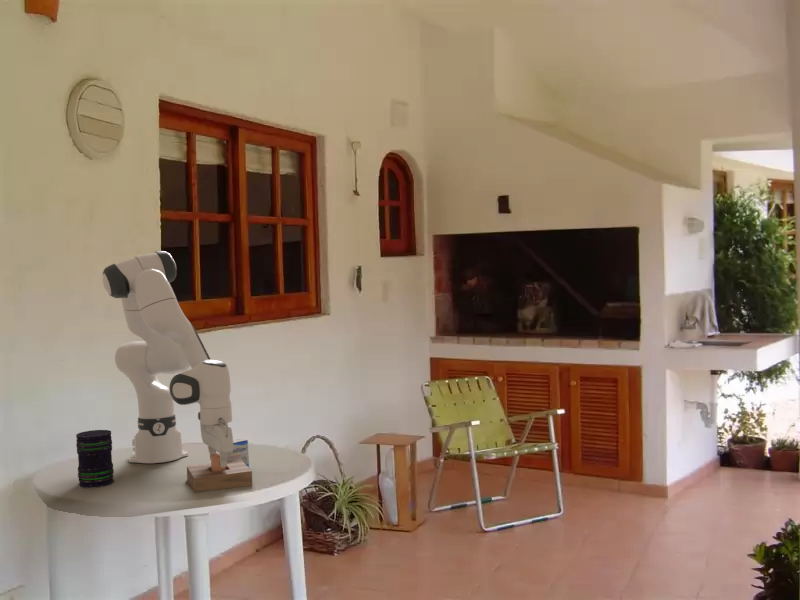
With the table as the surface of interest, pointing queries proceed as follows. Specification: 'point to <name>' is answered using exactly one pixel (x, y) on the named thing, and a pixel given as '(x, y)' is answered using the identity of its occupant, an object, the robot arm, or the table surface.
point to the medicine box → (239, 451)
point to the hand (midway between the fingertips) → (218, 463)
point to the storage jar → (94, 458)
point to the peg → (216, 463)
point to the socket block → (219, 476)
